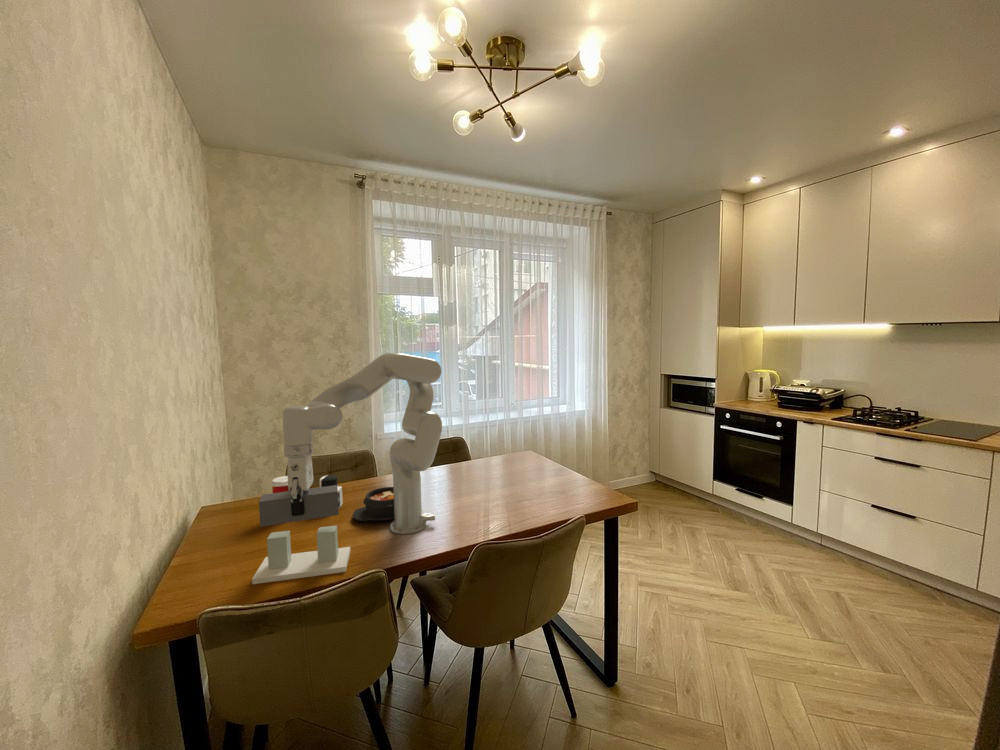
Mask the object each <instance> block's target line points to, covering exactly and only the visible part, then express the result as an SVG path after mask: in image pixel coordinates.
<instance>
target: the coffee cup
mask: <svg viewBox="0 0 1000 750" xmlns="http://www.w3.org/2000/svg"><path fill="white" fill-rule="evenodd" d="M270 487H271V489H272V493H279V492H287V491H289V490H288V475H284V476H283V475H282V476H278V477H275V478H273V479H272V480H271V483H270Z"/></svg>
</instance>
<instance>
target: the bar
mask: <svg viewBox="0 0 1000 750" xmlns="http://www.w3.org/2000/svg"><path fill="white" fill-rule="evenodd" d="M298 494H299V495H300V493H298ZM303 501H304V515H299V516H292V510H291V492H290V491H287V492H279V493H273V492H272V493H265V494H261V497H260V499H259V501H258V506H259V507H258V510H259V524H260V525H259V526H260V528H263V527H267V526H268V527H269V526H275V525H276V526H277V525H282V524H287V523H294V522H300V521H307V520H314V519H319V518H326V517H332V516H333V517H334V516H338V515H339V513H340V512H339V509H338V488H337V485H333V486H326V487H320V486H319V487H312V488H309V489H308V490H307V491H305V490H303Z"/></svg>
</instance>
